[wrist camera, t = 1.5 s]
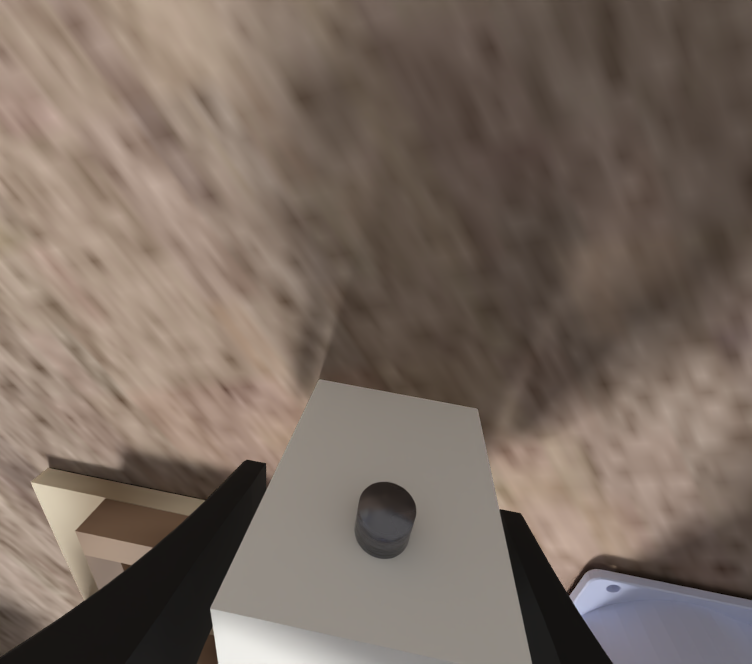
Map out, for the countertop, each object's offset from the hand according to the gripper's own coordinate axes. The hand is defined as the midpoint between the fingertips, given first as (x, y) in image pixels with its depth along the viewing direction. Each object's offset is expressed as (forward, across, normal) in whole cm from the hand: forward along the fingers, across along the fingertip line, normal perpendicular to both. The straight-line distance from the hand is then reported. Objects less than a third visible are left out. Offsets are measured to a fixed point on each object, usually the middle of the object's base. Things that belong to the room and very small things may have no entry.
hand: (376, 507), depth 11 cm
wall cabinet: (+3, 0, 0) cm, 3 cm away
